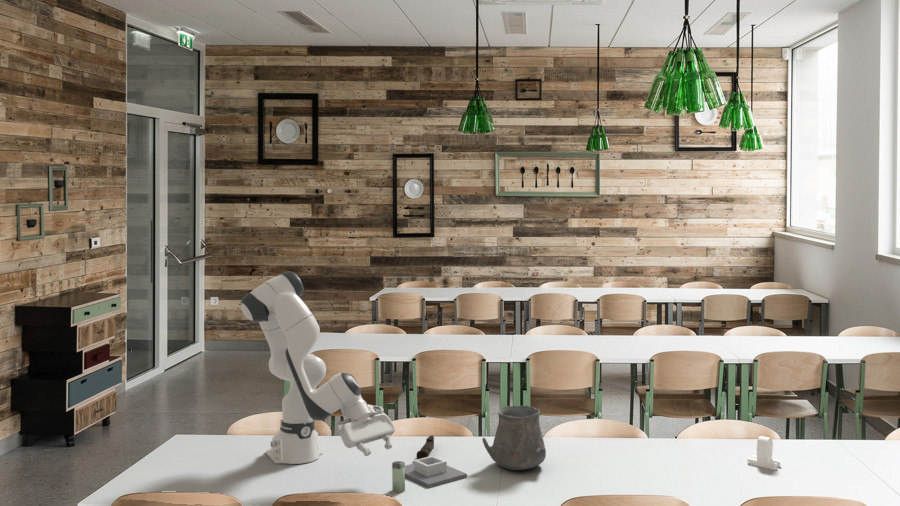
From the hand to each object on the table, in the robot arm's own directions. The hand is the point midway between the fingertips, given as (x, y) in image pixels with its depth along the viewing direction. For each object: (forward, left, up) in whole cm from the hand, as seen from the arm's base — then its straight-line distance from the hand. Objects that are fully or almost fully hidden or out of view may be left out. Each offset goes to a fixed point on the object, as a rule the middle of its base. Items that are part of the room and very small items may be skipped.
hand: (379, 451), depth 266 cm
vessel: (+13, +49, -12) cm, 53 cm away
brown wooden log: (-19, +32, -12) cm, 39 cm away
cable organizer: (+66, +116, -12) cm, 135 cm away
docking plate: (+1, +19, -11) cm, 23 cm away
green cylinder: (+7, +2, -11) cm, 14 cm away
